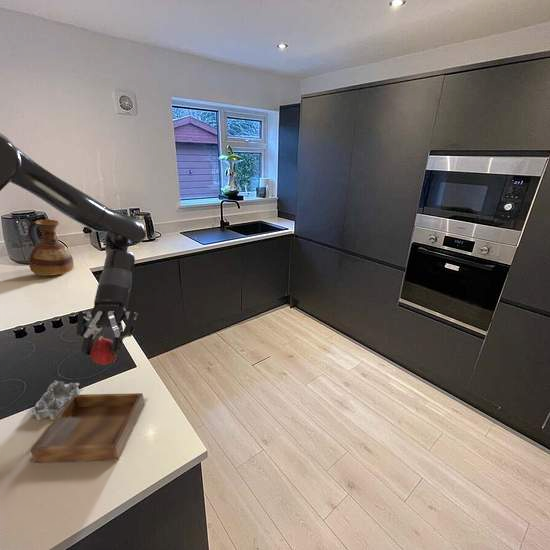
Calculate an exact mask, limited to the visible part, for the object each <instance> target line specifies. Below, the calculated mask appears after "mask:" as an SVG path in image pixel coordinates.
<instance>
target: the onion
mask: <svg viewBox="0 0 550 550" xmlns="http://www.w3.org/2000/svg"><path fill="white" fill-rule="evenodd" d="M112 344H113V339H110V338H106V337H105V338H104V336H103V335H100V336H98V340H96V341H95V343H93V346H92V348H91V351H90V358H91V360H92V361H93V362H94V363H95V364H97V365H101V366H108V365H109V364H111V363H112V362H114V360H115V359H117V357H118V354H117V355H113V354H111V349H112Z"/></svg>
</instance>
